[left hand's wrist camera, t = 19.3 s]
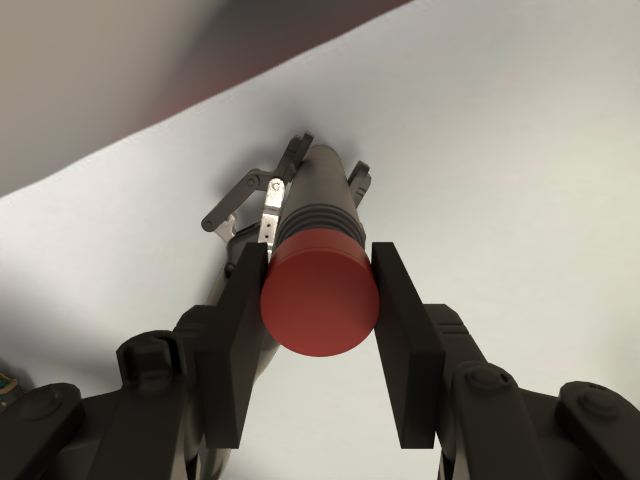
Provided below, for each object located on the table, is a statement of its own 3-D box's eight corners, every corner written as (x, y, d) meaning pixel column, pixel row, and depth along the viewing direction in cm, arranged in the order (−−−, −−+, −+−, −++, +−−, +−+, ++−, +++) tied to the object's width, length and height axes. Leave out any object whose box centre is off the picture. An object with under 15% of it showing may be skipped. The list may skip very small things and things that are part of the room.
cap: (273, 221, 14) (265, 242, 12) (381, 235, 14) (391, 259, 12) (263, 315, 15) (254, 350, 13) (362, 327, 16) (368, 363, 13)
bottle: (322, 197, 37) (325, 367, 14) (289, 169, 36) (235, 303, 13) (350, 165, 36) (405, 292, 13) (317, 135, 35) (313, 216, 12)
